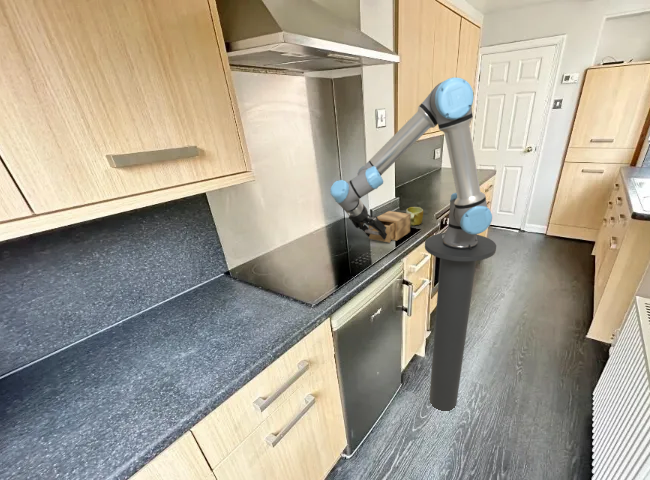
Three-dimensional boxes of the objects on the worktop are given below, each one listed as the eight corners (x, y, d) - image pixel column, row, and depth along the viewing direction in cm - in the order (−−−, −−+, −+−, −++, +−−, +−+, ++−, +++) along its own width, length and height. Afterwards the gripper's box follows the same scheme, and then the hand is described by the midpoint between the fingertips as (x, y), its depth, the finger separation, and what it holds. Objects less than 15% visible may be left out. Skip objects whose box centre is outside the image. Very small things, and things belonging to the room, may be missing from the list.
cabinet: (396, 240, 154) (396, 221, 149) (374, 236, 160) (374, 218, 155) (410, 232, 164) (410, 213, 160) (389, 228, 171) (388, 210, 166)
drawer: (382, 246, 145) (382, 230, 141) (362, 242, 150) (361, 227, 147) (402, 234, 159) (403, 219, 155) (383, 230, 165) (383, 216, 161)
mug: (407, 216, 183) (411, 201, 176) (423, 223, 180) (428, 208, 173) (398, 226, 175) (402, 210, 168) (414, 233, 172) (419, 218, 165)
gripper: (332, 214, 135) (356, 238, 154) (373, 220, 124) (393, 246, 144) (339, 199, 136) (362, 225, 155) (380, 204, 125) (399, 231, 145)
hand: (377, 235), depth 149 cm, fingers closed on drawer, 8 cm apart
